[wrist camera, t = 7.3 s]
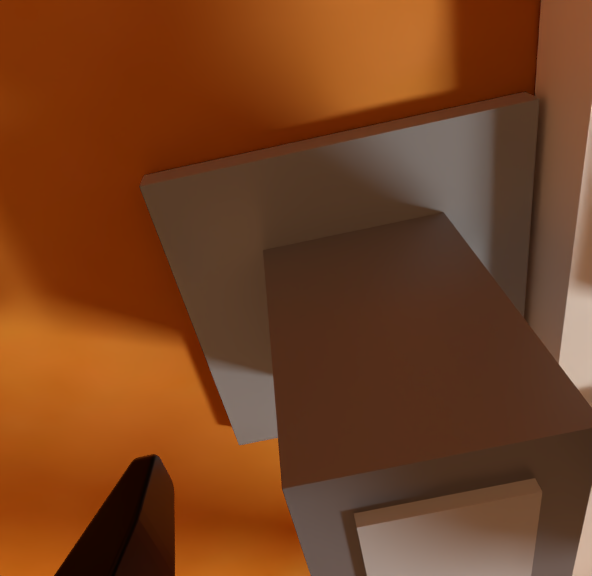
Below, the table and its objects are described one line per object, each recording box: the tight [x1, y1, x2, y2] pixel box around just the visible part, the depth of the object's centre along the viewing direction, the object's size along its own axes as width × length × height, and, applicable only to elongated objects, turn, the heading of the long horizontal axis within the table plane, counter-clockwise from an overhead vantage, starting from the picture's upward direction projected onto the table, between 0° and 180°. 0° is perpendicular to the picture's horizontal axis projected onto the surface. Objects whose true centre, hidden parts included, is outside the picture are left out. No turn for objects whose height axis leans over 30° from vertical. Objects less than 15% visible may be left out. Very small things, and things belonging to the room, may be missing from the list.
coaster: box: [139, 92, 539, 445], centre depth 13 cm, size 8×8×1 cm
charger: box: [263, 212, 592, 576], centre depth 10 cm, size 4×4×6 cm
